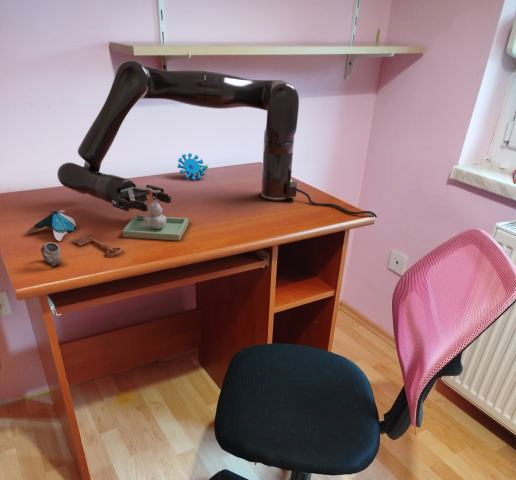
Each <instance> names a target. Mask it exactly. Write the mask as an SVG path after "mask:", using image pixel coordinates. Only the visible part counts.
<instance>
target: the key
mask: <svg viewBox="0 0 516 480" xmlns="http://www.w3.org/2000/svg"><path fill="white" fill-rule="evenodd" d="M72 242H73V243H75V244H76V245H78V246H80V247H81V246H83V245H86V244H88V243H91V242H93V243H95V244H97V246H100V247H102V248H103V249H105V250H106V252H105V254H106V255H107V256H116V255H119V254H121V252H122V251H123V249H122V248H121V247H112V248H111V246H108V245H107V244H105V243H103V242H101V241H99V240H98V239H95V238H94V237H92V236H90V235H88V234H86V233H84V234H83V236H81V237H79V238H76V239H73V240H72ZM114 251H116V252H114Z"/></svg>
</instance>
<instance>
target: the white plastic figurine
mask: <svg viewBox="0 0 516 480" xmlns="http://www.w3.org/2000/svg"><path fill="white" fill-rule="evenodd" d="M157 201H158V200H153V201H152V202H151V204H150V206H149V208H148V210H149V214H147V215H145V217H144V218H143V220H144V222H145V226H146V227H149V226H150V227H152V228H154V229H161V228H163V227H165V225H166V217H167V216H165V215H164V214H163V210H164V208H162V207H161V204H159V203H158V202H157Z"/></svg>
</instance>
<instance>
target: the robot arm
mask: <svg viewBox="0 0 516 480" xmlns="http://www.w3.org/2000/svg"><path fill="white" fill-rule="evenodd" d="M146 99H147V100H149V99H150V100H151V99H153V100H157V99H159V100H169V101H173V102H177V103H180V104H184V105H189V106H192V107H193V106H194V107H199V108H207V109H217V110H218V109H219V110H226V109H235V108H252V109H258V110H262V111H266V124H265V129H264V131H263V132H264V133H263V148H262V149H263V151H262V174H261V175H262V176H261V193H260V196H261V197H262V198H263V199H265V200H269V201H277V202H279V201H280V202H281V201H290V198H291V197H292V198H295V197H297V192H298V193H300V194H302V195H304V196H306V198H307V199H308V202H309V203H310V204H312V205H314V206H321V207H326V206H327V207H328V206H329V207H335V208H338V209H339V210H341V211H343V212H345V213H348V214H350V215H362V214H363V215H364V214H370V215H372V216H373V217H374V218H378V215H377V214H375V212H373V211H370V210H361V211H360V210H359V211H352V210H349V209H347V208H345V207H344V206H341V205H339V204H337V203H336V204H335V203H326V202H323V203H320V202H315V201H313V200H312V199H311V196H310V195H309V194H308V193H307V192H306V191H303V190H302V189H299V188H298V182H297V181H292V173H293V157H294V143H295V135H296V132H297V129H298V128H297V127H298V120H299V119H298V118H299V109H300V107H299V106H300V97H299V93H298V90H297V89H296V87H295V86H294V85H292V84H291V83H289V81H286V80H282V79H267V80H266V79H248V78H244V77H240V76H237V75H232V74H227V73H222V72H217V71H209V70H201V69H183V70H181V69H180V70H166V69H160V68H156V67H150V66H147V65H143V64H142V63H141V62H138V61H137V60H132V59H131V60H125V61H123V62H122V63H120V64H119V65H118V67H117V68H116V70H115V75H114V78H113V80H112V84H111V87H110V90H109V92H108V95H107V97H106V99H105V101H104V103H103V105H102V107H101V109H100V111H99V113H98V114H97V116H96V117H95V119H94V120H93V122H92V123H91V126H90V127H89V129H88V131H87V132H86V133H85V135H84V137H83V139H82V141H81V143H80V145H79V146H78V149H77V154H78V156H79V157H80V158H81V159H82V160H83V161H84V164H83V166H82V165H79V164H77V163H74V162H65V163H63V164H61V165H60V167H58V169H57V175H56V176H57V179H58V182H59V183H60V184H61V185H62V186H63V187H65V188H67V189H70V190H72V191H74V192H77V193H79V194H81V195H89V196H90V197H94V198H97V199H99V200H102V201H104V202H106V203H109V204H111V205H112V207H114V208H115V209H119V210H122V211H125V212H128V211H130V210H132V211H133V210H134V211H135V210H138V211H141V212H144V213H147V212H148V211H149V208H148V203H153V201H155V200H156V201H159V202H162V203H165V204H171V203H172V197H171V195H170V194H168V193H165V188H163V187H160V186H155V185H151V184H146V185H145V187H141V186H137V185H136V183H135V182H134V181H132V180H131V179H129V178H126V177H121V176H118V175H114V174H107V173H104V172H100V170H101V165H102V162H103V161H104V159H105V158H106V157H107V154H108V152H109V151H110V149H111V147H112V145H113V143H114V142H115V139H116V137H117V135H118V133H119V131H120V128H121V126H122V124H123V122H124V121H125V119H126V117H127V115H128V114H129V113H130V111H131V110H132V109H133V108H134V106H135V105H136V104H137V103H138V101H140V100H146Z"/></svg>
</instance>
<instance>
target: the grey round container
mask: <svg viewBox="0 0 516 480" xmlns="http://www.w3.org/2000/svg"><path fill="white" fill-rule="evenodd" d="M40 252H41V255H42V257H43V259H44V261H46V263H47V264H48V265H51V266H53V267H58V266H60V265H61V264H62V256H61V247H60V246H59V245H58V244H57V243H55V242H53V241H49V242H45V243H43V244H42V246H41V248H40Z"/></svg>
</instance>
